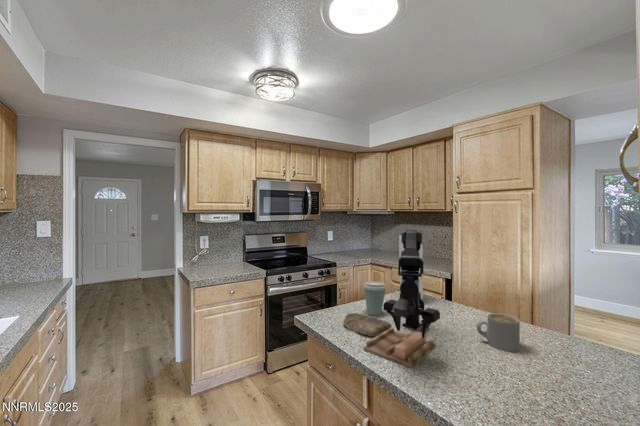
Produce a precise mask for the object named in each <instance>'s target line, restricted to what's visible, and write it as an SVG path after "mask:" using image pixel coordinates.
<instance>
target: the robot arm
mask: <svg viewBox="0 0 640 426" xmlns="http://www.w3.org/2000/svg"><path fill="white" fill-rule="evenodd" d="M401 235H402V238H401V242H402V244H403V248H404V249H405V250H404V251H402V252H401V257H399V256H398V266H397V269H398V270H397V271H398V272H397V276H399V277H400V276H402V282H401V286H400V285H399V299H398V300H396V299H389V300H386V301H385V302H383V307H382V311H386V313H387V314H389V316H391V317H392V319H393V320H392V321H393V323H394V326H395V328H396V331H397V332H400V331H401V326H403V327H405V328H410V329H413V330H418V329H420V328H421V333H422V339H424V338H425V339H426V335H427V333H428V331H429V328H430V326H431V325H432V323H433V324H434V323H435V322H437V321H438V320H440V319H441V312H440V311H439V309H435V308H430V307H427V308H425V302H424V298H423V299H421V293H420V292H419V277H422V274H424V260H423V261H422V258H419V252H418V251H419V250H420V248H421V244H422V237H423V233H421V232H419V230H417V229H415V230H414V229H406V230H404V232H401ZM419 268H420V273H419V272H417V271H419ZM400 269H401V270H403V271H401V272H400ZM400 292H401V293H400ZM420 316H421V321H420ZM402 318H404V319H405V322H404V323H402V325H401V319H402Z"/></svg>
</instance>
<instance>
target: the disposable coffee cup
mask: <svg viewBox="0 0 640 426" xmlns="http://www.w3.org/2000/svg"><path fill="white" fill-rule="evenodd" d="M363 289H364V297H365V304H366V312H367V314H368V315H369V316H373V317H375V316H376V317H377V316H381V314H382V312H383V305H384V300H385V294H386V289H387V285H386V284H385V283H384V282H380V281H366V282H364V284H363Z"/></svg>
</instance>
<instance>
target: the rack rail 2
mask: <svg viewBox="0 0 640 426" xmlns="http://www.w3.org/2000/svg"><path fill="white" fill-rule="evenodd" d="M434 340H435V339H433V338H431V339H429V340H427V341H428V342H427V343H425V344H424V345H423V346H422V347H420V348H419V349H418V350H417V351H415V352H414V353H413V354H412V355H410V356H409V357H408V363H412V362H413V361H414V360H416V359H417V358H418V357H419V356H420V355H422V354H423V353H424V352H425V351H426V350H427V349H429V348H430V347H431V346H432V345H433V344H434V343H435V341H434Z"/></svg>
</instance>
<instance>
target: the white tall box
mask: <svg viewBox="0 0 640 426" xmlns="http://www.w3.org/2000/svg"><path fill="white" fill-rule="evenodd" d="M401 238H402V234H401V235H399V236H398V239H399V241H398V243H399V246H398V250H399V254H398V255H399V256H398V258H399V257H401V252H402V251H404V250H405V249H404V248H403V244H402V242H401ZM423 241H424V240H423V236H422V244H421V248H420V250H419V251H418V252H419V258H422V261H423V262H424V259H423V258H424V257H423V255H424V254H423V253H424V251H423V250H424V249H423V247H424V246H423V244H424V243H423ZM401 271H403V270H401V269H400V272H401ZM417 272H419V273H420V268H419V271H417ZM423 277H424V275H423V274H422V277H419V292H420V293H421V299H423V300H424V284H423V283H424V278H423ZM401 282H402V276H399V287H400V286H401ZM400 293H401V292H400V291H399V294H400Z"/></svg>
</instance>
